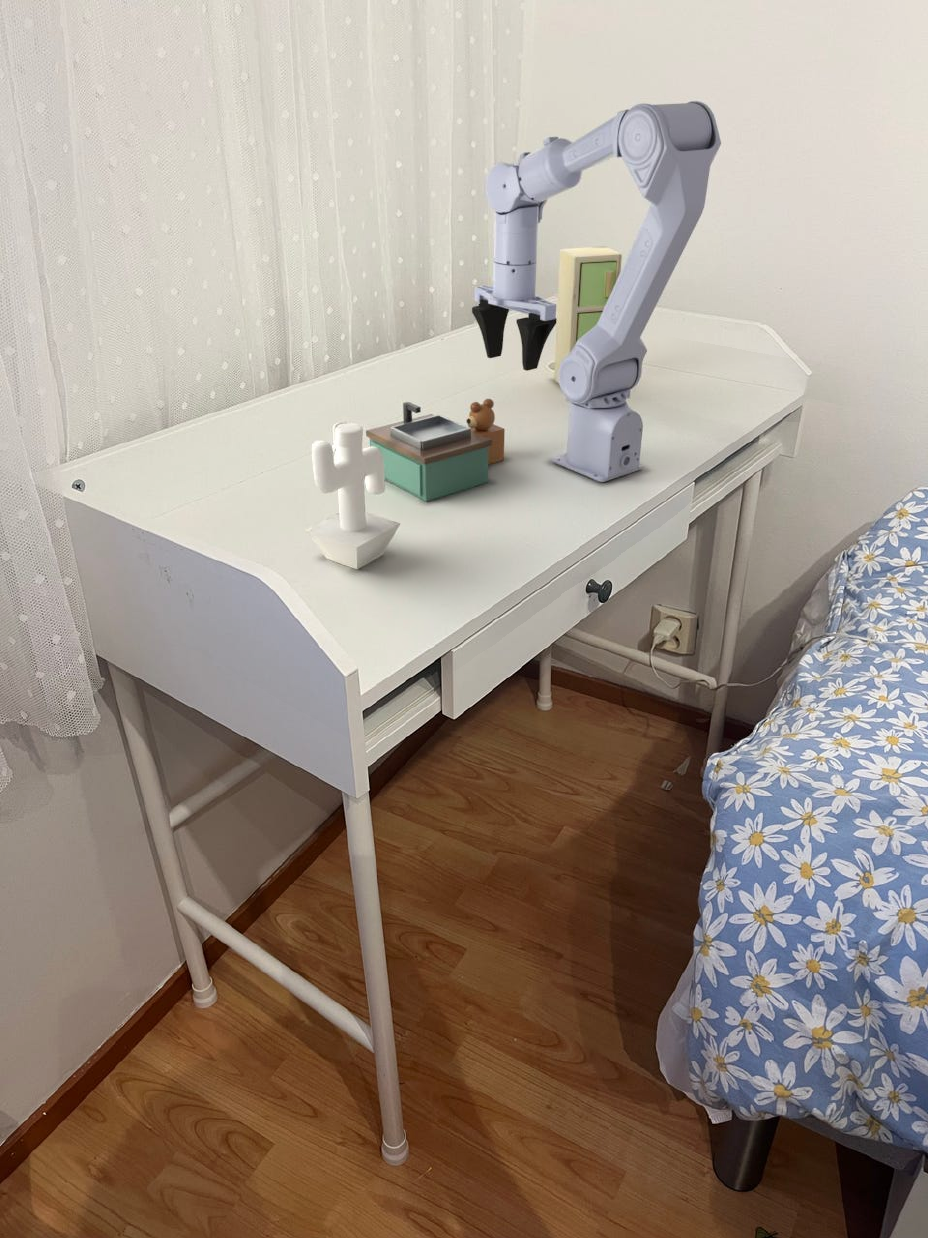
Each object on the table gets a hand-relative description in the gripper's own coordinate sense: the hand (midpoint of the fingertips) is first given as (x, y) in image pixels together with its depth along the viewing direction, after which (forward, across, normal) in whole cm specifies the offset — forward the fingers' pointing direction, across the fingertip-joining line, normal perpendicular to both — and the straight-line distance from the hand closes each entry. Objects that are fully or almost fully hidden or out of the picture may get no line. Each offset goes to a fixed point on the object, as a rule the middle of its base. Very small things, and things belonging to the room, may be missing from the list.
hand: (511, 362), depth 136 cm
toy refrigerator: (+10, -9, +24) cm, 28 cm away
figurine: (+10, +20, -40) cm, 46 cm away
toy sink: (+10, +7, -20) cm, 23 cm away
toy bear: (+10, +6, -11) cm, 16 cm away
